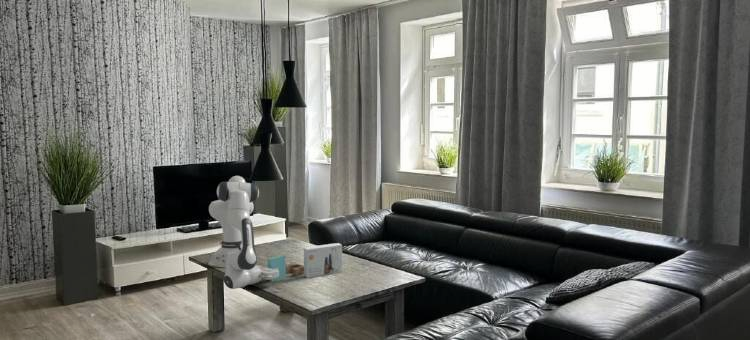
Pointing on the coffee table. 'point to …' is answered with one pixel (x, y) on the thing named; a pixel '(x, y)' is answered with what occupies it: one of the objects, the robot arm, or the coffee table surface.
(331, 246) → the skincare box
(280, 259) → the teal rectangular block
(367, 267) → the coffee table surface
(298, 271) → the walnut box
